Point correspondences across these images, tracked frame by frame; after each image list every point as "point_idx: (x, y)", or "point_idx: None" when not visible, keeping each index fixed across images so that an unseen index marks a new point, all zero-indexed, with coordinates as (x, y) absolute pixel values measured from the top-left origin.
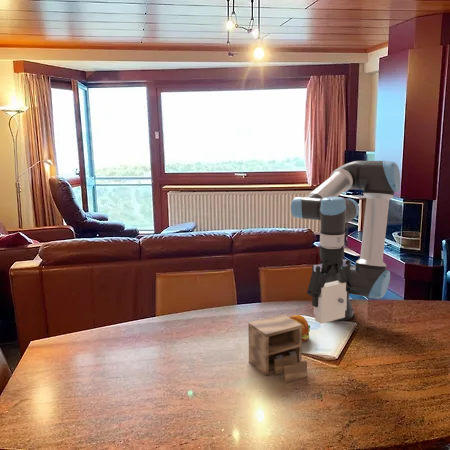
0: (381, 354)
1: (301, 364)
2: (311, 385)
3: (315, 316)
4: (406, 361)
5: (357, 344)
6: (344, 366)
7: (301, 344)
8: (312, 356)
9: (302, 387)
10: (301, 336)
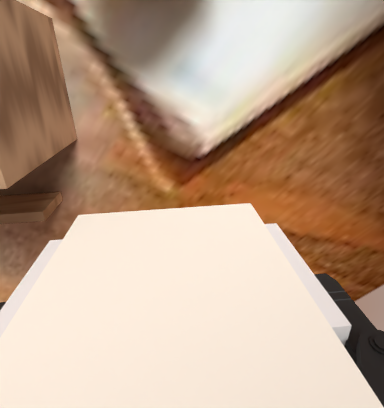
0: (324, 192)
1: (23, 220)
2: (54, 237)
3: (71, 230)
4: (340, 242)
5: (324, 110)
6: (189, 200)
7: (49, 157)
8: (139, 109)
9: (27, 235)
10: (33, 167)
